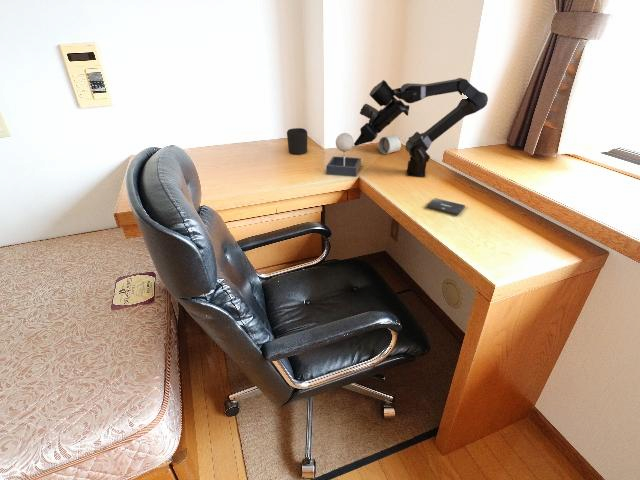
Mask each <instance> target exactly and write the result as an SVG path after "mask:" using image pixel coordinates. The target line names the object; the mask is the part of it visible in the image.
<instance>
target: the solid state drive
mask: <svg viewBox="0 0 640 480" xmlns="http://www.w3.org/2000/svg"><path fill="white" fill-rule="evenodd" d="M465 207H466V204H461V203H458V202H453V201H449V200H445V199H441V198H436V197H435V198H434V199H433V200H431V201H430V202H429V203H428V205H427V208H428V209H432V210H437V211H440V212H443V213H448V214H452V215H455V216H459V215H460V214H461V212H463V210H464V209H465Z"/></svg>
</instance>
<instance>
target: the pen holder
mask: <svg viewBox="0 0 640 480" xmlns="http://www.w3.org/2000/svg"><path fill="white" fill-rule="evenodd" d="M286 136H287V137H286V138H287V147H288V153H289V154H290V155H296V156H299V155H304V154H306V153H307V152H308V131H307V130H306V129H305V128H303V127H294V128H290V129H288V130H287V131H286Z"/></svg>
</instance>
